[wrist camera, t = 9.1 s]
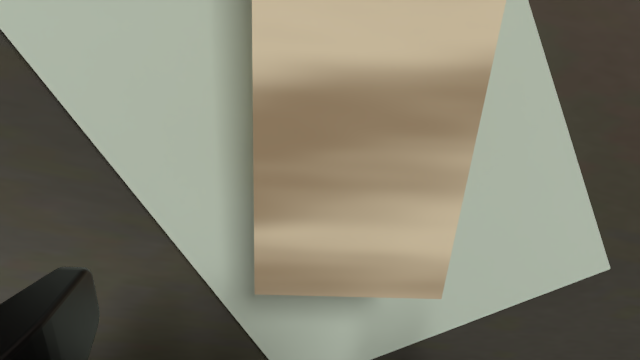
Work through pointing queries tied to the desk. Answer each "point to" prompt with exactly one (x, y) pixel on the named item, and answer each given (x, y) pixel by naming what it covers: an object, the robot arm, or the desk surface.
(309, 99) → the maple block
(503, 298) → the sage mat
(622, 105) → the desk surface
